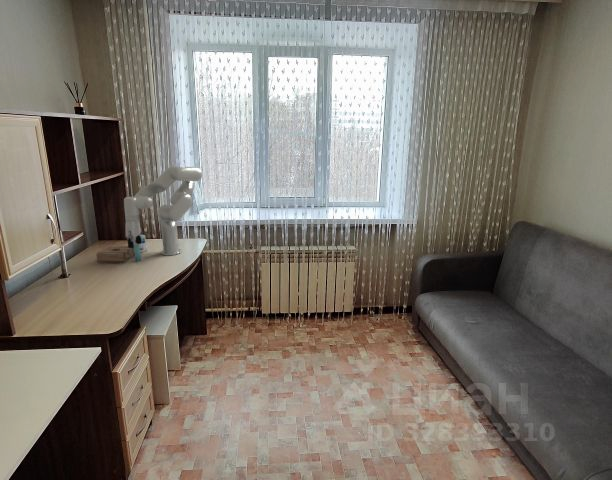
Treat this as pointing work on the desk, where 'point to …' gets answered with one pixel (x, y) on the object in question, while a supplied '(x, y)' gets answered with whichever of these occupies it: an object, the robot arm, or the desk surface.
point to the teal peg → (137, 253)
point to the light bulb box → (143, 243)
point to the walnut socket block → (115, 254)
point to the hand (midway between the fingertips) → (135, 245)
